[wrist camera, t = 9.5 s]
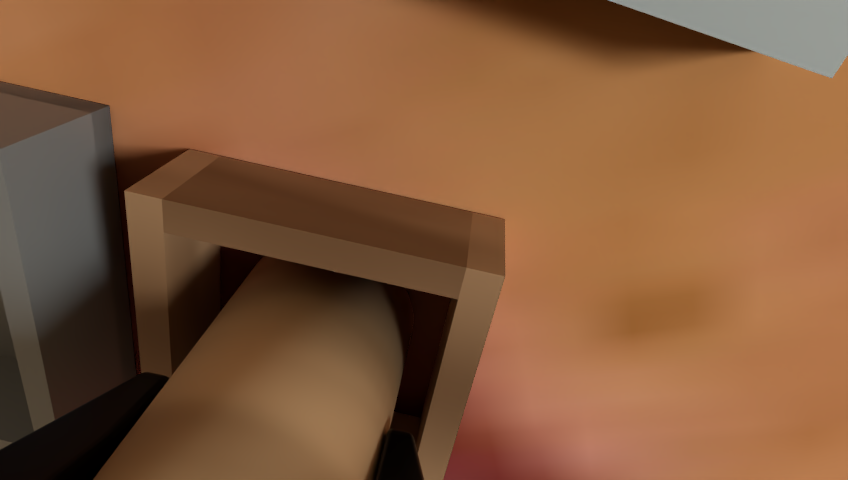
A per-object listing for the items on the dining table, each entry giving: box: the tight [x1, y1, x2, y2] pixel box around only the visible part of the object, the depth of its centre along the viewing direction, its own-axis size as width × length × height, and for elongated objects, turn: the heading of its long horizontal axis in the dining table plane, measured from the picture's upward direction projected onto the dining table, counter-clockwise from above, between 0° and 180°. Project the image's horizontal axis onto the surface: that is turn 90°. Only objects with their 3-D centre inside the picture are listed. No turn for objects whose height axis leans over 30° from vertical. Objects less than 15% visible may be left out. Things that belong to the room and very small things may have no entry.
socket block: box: [124, 149, 505, 480], centre depth 11 cm, size 6×6×2 cm
